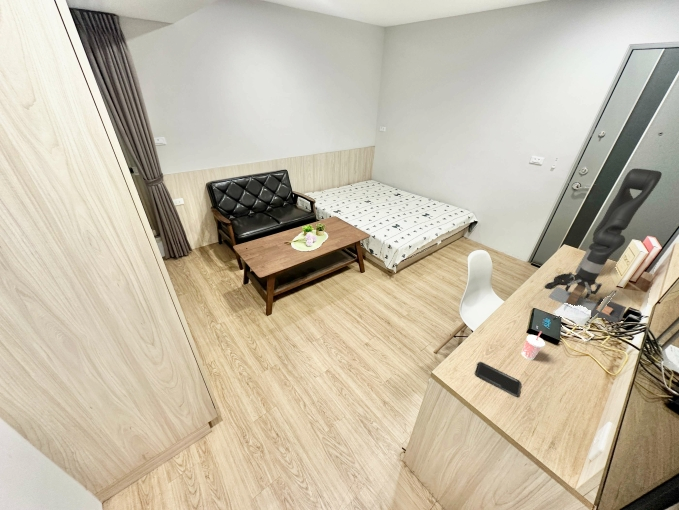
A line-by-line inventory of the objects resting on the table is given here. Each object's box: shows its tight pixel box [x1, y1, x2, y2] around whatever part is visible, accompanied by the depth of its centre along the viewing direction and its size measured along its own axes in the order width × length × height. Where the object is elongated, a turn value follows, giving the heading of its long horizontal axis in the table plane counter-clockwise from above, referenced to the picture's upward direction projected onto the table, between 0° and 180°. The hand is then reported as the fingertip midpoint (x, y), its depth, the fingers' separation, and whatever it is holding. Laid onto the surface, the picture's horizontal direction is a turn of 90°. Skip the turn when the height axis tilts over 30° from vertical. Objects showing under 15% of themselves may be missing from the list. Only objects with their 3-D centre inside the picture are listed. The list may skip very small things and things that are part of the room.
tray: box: [591, 297, 627, 323], centre depth 131 cm, size 16×10×5 cm, turn 128°
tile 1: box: [597, 305, 613, 314], centre depth 134 cm, size 5×5×2 cm
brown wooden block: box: [566, 284, 586, 306], centre depth 139 cm, size 14×4×6 cm, turn 129°
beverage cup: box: [521, 330, 546, 361], centre depth 106 cm, size 6×6×14 cm
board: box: [548, 286, 597, 312], centre depth 141 cm, size 12×18×2 cm, turn 38°
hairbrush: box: [544, 273, 575, 290], centre depth 156 cm, size 8×4×25 cm
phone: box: [474, 361, 522, 398], centre depth 99 cm, size 8×1×15 cm
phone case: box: [557, 315, 596, 343], centre depth 124 cm, size 7×1×15 cm
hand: (575, 294), depth 139 cm, fingers open, 7 cm apart
